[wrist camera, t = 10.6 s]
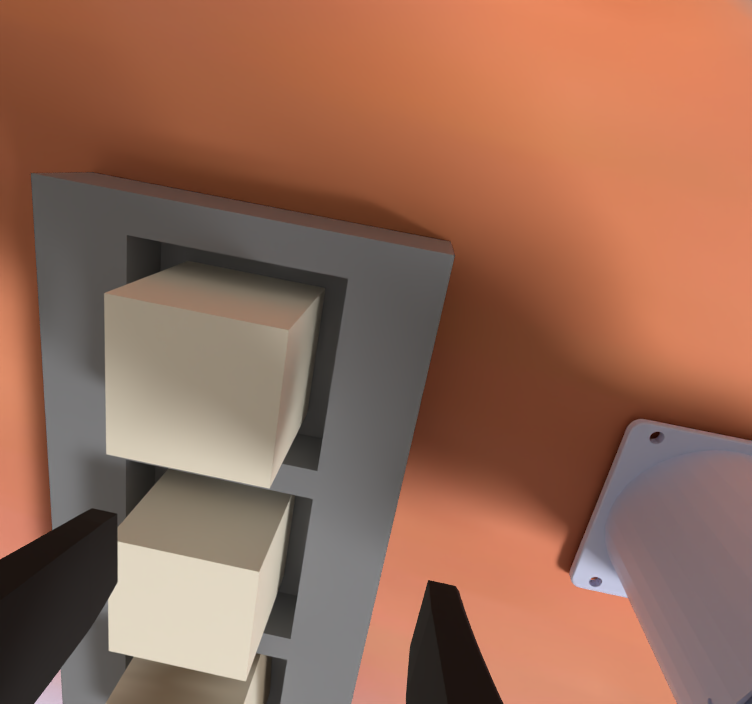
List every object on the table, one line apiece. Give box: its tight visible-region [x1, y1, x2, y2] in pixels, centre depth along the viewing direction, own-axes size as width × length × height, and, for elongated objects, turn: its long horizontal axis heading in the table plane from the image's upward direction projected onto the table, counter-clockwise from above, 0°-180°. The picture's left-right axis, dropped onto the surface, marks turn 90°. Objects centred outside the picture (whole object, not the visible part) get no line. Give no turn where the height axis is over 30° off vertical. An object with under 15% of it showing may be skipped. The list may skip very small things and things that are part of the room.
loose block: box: [105, 653, 272, 704], centre depth 22 cm, size 5×5×5 cm
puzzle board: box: [31, 172, 455, 704], centre depth 20 cm, size 13×26×6 cm, turn 170°
